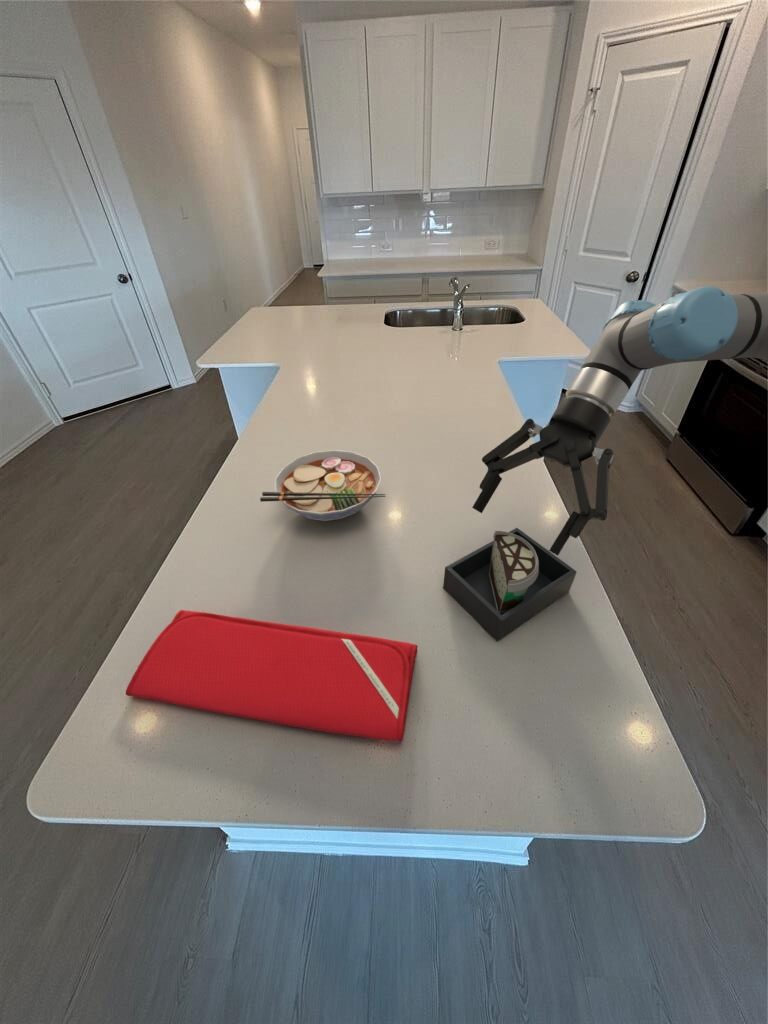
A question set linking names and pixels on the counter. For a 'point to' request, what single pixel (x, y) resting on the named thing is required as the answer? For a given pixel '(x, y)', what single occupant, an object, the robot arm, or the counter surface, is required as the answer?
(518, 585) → the halved ice cream tub
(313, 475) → the ramen bowl
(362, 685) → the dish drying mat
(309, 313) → the counter surface
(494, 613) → the bin
